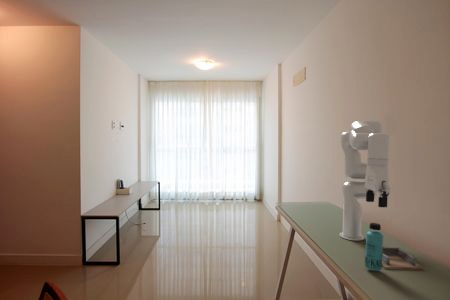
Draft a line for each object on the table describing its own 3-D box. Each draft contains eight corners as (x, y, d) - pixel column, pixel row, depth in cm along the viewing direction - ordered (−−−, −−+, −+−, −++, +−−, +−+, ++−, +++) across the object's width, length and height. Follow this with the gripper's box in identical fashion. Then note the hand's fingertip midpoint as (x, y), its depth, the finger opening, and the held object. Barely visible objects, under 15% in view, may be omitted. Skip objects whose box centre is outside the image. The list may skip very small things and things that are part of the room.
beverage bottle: (366, 265, 118) (367, 220, 118) (383, 270, 114) (385, 223, 113) (362, 271, 113) (364, 223, 113) (380, 276, 109) (382, 227, 108)
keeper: (366, 253, 131) (366, 245, 131) (399, 254, 131) (400, 246, 131) (384, 269, 116) (385, 259, 115) (423, 270, 115) (423, 260, 115)
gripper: (358, 161, 121) (357, 199, 121) (379, 164, 104) (378, 209, 104) (375, 161, 121) (374, 200, 121) (399, 165, 103) (398, 209, 104)
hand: (376, 204), depth 113 cm, fingers open, 9 cm apart
